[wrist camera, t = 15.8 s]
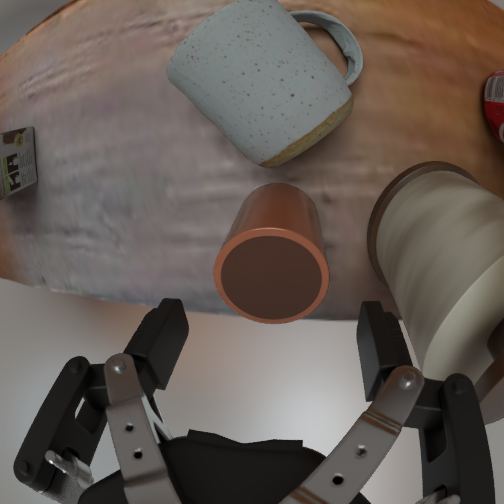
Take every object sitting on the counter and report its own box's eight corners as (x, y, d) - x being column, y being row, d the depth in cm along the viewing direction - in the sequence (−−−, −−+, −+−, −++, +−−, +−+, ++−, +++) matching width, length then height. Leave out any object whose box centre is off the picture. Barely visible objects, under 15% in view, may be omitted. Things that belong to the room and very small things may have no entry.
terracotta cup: (318, 182, 19) (333, 226, 12) (317, 255, 22) (325, 324, 15) (235, 184, 20) (204, 229, 13) (243, 256, 23) (222, 323, 16)
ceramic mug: (267, 164, 19) (256, 195, 12) (191, 83, 17) (139, 72, 10) (382, 80, 15) (433, 67, 8) (304, -4, 13) (312, -57, 6)
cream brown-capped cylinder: (493, 169, 16) (624, 261, 2) (466, 287, 22) (534, 412, 8) (371, 155, 18) (517, 277, 4) (359, 293, 23) (393, 463, 10)
